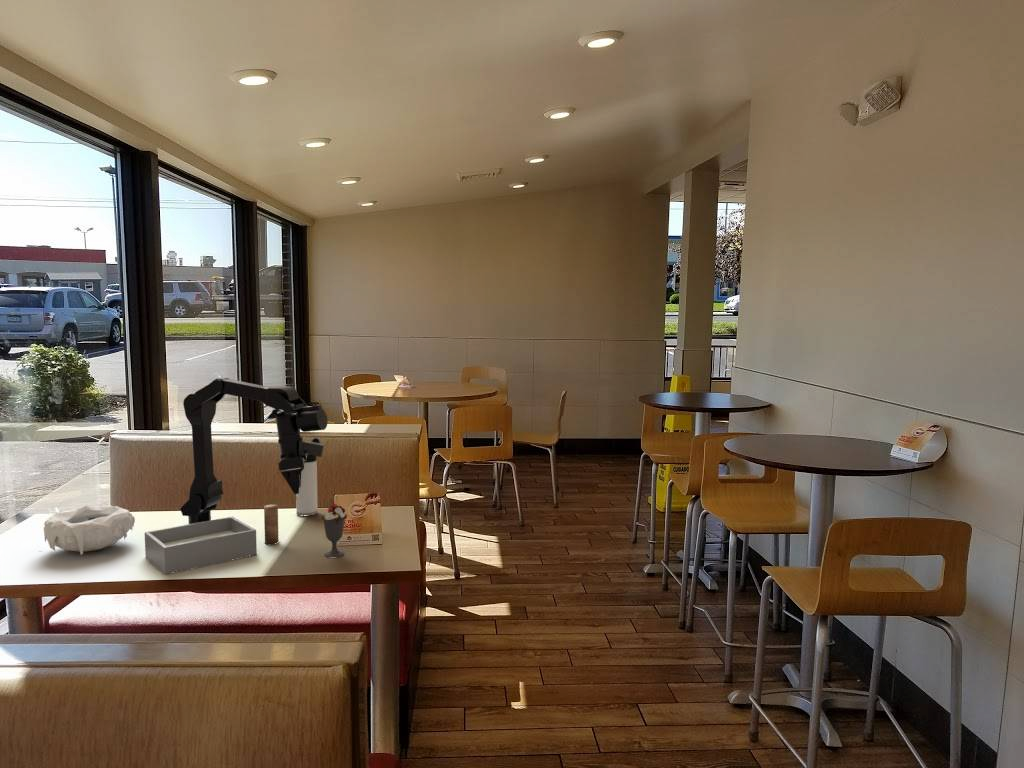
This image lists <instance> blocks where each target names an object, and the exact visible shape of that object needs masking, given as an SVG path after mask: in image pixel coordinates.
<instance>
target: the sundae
mask: <svg viewBox="0 0 1024 768" xmlns="http://www.w3.org/2000/svg"><path fill="white" fill-rule="evenodd" d="M329 501H330V504H329V507H328V508H327V511H326V512H325V514H324V515H322V516H320V519H321V520H322V521H323V524H324V525H323V526H324V531H325V532H324V533H325V537H326V538H327V540H328V541H330V542H331V549H330V550H329V551H327V552H326V553H325V554H324V557H325V556H327V557H338V558H341V557H340V556H342V557H343V556H345V552H343V551H339V550H338V546H337V545H338V544H337V543H338V542H339V541H340V540H341V539H342V537H343V533H344V525H345V521H346V519H347V518H348V514H347V513H345V512H346V509H345V508H344V507H342V506H341V505H338V504H336V503H334V502H333V499H330V500H329ZM331 504H332V505H331ZM327 557H326V558H327Z"/></svg>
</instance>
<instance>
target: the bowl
mask: <svg viewBox="0 0 1024 768" xmlns="http://www.w3.org/2000/svg"><path fill="white" fill-rule="evenodd" d="M135 521H136V519H135V516H133V514H132V513H131V512H130V510H128V509H126V508H122V507H120V506H117V505H115V506H114V505H109V504H103V505H99V506H97V505H96V506H94V505H93V506H92V505H83V506H79V507H76V508H74V509H69V510H66V511H60V512H55V513H54V514H52V515H51V516H50V517H49V518H48V519H45V521H44V523H43V525H44V526H43V535H44V543H46V542H47V543H48V545H49V548H50V549H51V550H53V551H54V552H56V547H57V548H59V549H62V550H64V551H71V552H79V554H80V556H82V555H83V554H84V552H91V551H92V552H93V551H98V550H102V549H105V548H107V547H110V546H112V545H114V544H116V543H117V542H119V541H121V540H122V538H123V540H125V539H126V538H127V537H128V532H129V531H130V530H131V531H133V529H134V527H135Z"/></svg>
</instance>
